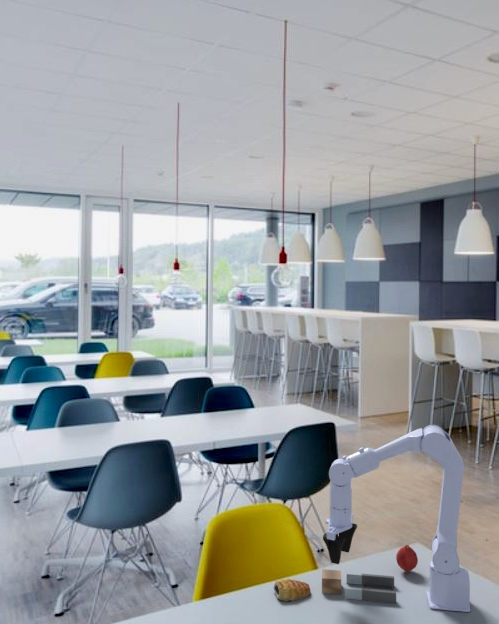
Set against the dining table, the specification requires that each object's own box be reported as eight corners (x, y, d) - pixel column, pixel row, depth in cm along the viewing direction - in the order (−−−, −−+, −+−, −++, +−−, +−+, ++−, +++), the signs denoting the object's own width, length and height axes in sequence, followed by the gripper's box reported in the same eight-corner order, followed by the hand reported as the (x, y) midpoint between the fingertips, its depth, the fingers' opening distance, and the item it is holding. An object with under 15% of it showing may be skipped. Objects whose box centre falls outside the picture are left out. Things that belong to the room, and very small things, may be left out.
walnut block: (340, 585, 155) (340, 570, 155) (341, 594, 150) (341, 579, 150) (322, 584, 156) (322, 569, 156) (321, 593, 151) (321, 578, 151)
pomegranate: (395, 566, 165) (395, 538, 165) (415, 567, 165) (416, 540, 164) (397, 576, 160) (397, 547, 159) (419, 577, 159) (419, 548, 159)
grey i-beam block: (394, 585, 155) (394, 576, 155) (396, 603, 146) (396, 593, 146) (346, 581, 157) (346, 572, 157) (345, 598, 148) (345, 588, 148)
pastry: (305, 586, 155) (305, 572, 155) (314, 599, 148) (314, 584, 148) (271, 591, 152) (271, 576, 152) (279, 604, 146) (279, 589, 146)
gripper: (335, 495, 160) (335, 543, 161) (315, 512, 148) (315, 564, 148) (360, 499, 157) (360, 548, 157) (342, 517, 144) (341, 571, 145)
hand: (340, 557), depth 153 cm, fingers open, 7 cm apart
